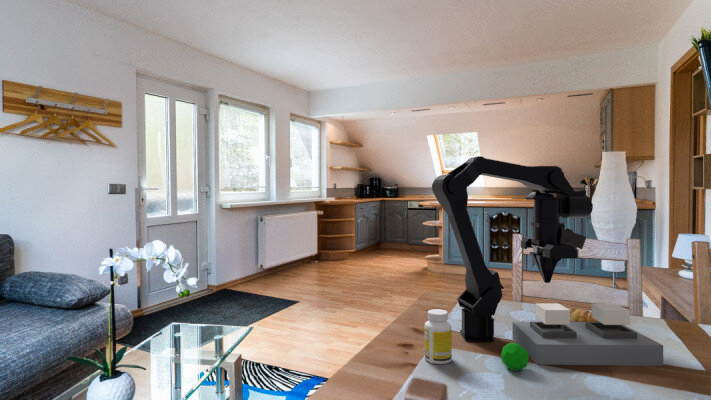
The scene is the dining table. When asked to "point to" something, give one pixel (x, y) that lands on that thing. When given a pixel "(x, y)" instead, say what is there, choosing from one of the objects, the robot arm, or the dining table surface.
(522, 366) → the polyhedron
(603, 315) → the button
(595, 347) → the panel
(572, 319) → the pastry
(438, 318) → the supplement bottle
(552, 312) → the button
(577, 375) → the dining table surface
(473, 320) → the robot arm
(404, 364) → the dining table surface
